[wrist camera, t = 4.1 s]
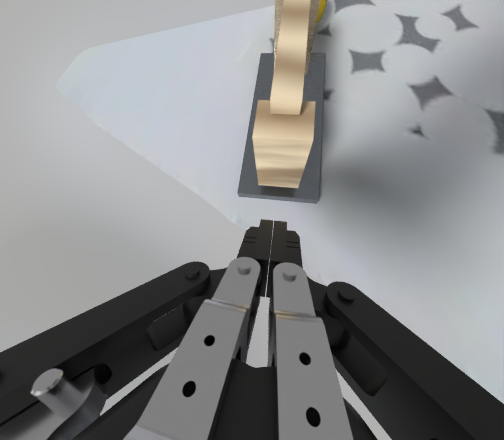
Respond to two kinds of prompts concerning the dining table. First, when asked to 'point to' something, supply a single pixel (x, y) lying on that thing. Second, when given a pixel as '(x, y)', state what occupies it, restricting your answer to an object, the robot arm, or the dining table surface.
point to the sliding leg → (286, 106)
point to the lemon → (321, 9)
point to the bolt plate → (311, 92)
